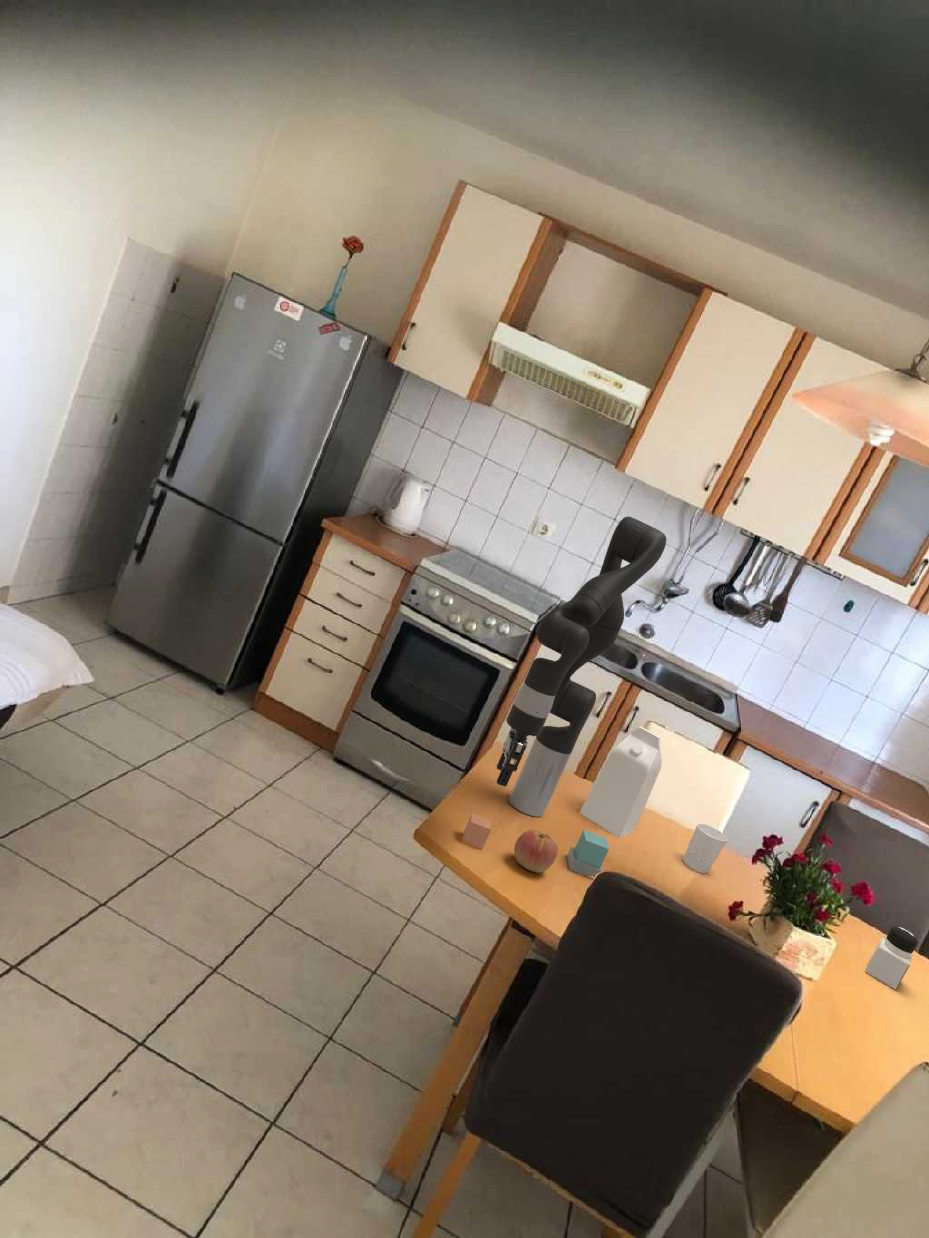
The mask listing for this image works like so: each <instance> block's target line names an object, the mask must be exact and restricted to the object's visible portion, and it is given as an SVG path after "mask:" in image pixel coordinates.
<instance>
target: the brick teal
mask: <svg viewBox="0 0 929 1238" xmlns="http://www.w3.org/2000/svg"><path fill="white" fill-rule="evenodd" d="M574 847H575V854H576V860H578V861H581V862H583V863H586V864H588V865H591V866H593V867H596V868H599V869H600V867H601V865H602V866H603V863H604V861H605V859H606V857H607V854H608V853H609V850H610V847H609V843H608V839H607V838H606V837H604V836H602V835H599V834H596V833H593V832H592V831H591V832H590V831H589V830H586V829H583V830H582V832H581V835H580V836H579V838H578V841H577V842H576V845H575V846H574Z"/></svg>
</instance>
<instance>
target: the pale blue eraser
mask: <svg viewBox="0 0 929 1238" xmlns="http://www.w3.org/2000/svg"><path fill="white" fill-rule="evenodd" d="M575 847H576V846H572V845H571V846H570V847H569V850H568V853H567V855H566V858H567V859H566V860H567V864H568V865H567V866H568V870H569V871H571V872H573V871H575V872H574V873H576V872H577V873H576V874H579V873H580V874H579V875H581V874H583V875H582V876H584V875H586V876H590V877H591V876H593V877H595V875H596V874H597V873H599V872H601V871H603V872H604V869H603V864H602V865H601V867H600V869H599V868H596V867H593V866H591V865H588V864H586V863H583V862H581V861H578V860H576V854H575ZM586 876H585V877H586Z"/></svg>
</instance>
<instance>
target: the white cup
mask: <svg viewBox="0 0 929 1238" xmlns="http://www.w3.org/2000/svg"><path fill="white" fill-rule="evenodd" d="M727 841H728V838H727V835H725V834H724V833H723V832H721V831H720V830H719V829H718V828H715V827H714V826H711V825H709V824H707V823H702V822H700V823H697V824H696V826H695V829H694V831H693V834H692V836H691V838H690V841H689V843H688V846H687V848H686V852H685V853H684V856H683V858H682V861H683V863H684V864H685V866H687V867H688V868H689V869H691V870H693V871H694V872H697V873H700V874H705V875H706V874H708V873H709V872H710V870H711V869H712V866H713V865H714V863H715V862H716V860H717V858H718V857H719V856H720V854H721V852H722V850H723V848H724V846H725V845H726V843H727Z"/></svg>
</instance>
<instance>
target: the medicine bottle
mask: <svg viewBox="0 0 929 1238" xmlns="http://www.w3.org/2000/svg"><path fill="white" fill-rule="evenodd" d="M877 944H878V945H877V946H876V947H875V950H874V952H873V954H872V955H871V957H870V959H869V960H868V962H867V966H866V968H865V973H866V974H868V975H870V976H871V977H873V978H874V979H875V980H878V981H879V982H881V983H883V984H884V985H885V986H888V987H890V988H891V989H893V990H895V991H896V990H897V989H898V987H899V986H900V984H901V982H902V980H903V979H904V978H905V977H904V976H905V975H906V974H907V971H908V969H909V967H911V966H910V965H911V962H912V958H913V955H912V954H913V953H914V951H915V949H916V947H917V945H918V944H919V941H918V939H917V937H915V935H914V934H913V933H912V932H911V931H909V930H907V929H905V928H903V927H901V926H900V927H898V926H891V928H890V930H889V931H888V934H887V935H886V937H885V938H884V937H882V938H881V939H880V941H879V943H877Z"/></svg>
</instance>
